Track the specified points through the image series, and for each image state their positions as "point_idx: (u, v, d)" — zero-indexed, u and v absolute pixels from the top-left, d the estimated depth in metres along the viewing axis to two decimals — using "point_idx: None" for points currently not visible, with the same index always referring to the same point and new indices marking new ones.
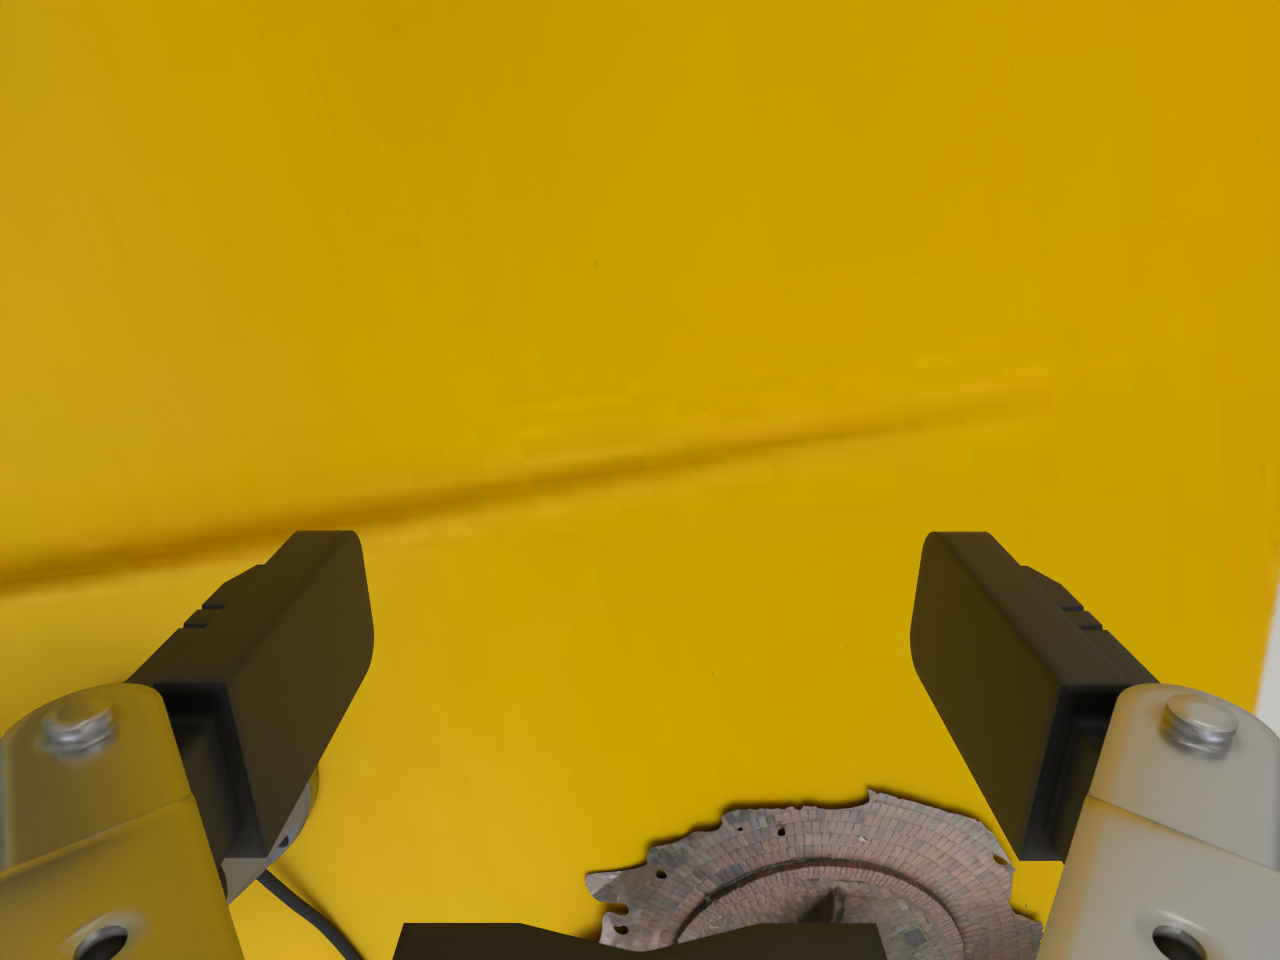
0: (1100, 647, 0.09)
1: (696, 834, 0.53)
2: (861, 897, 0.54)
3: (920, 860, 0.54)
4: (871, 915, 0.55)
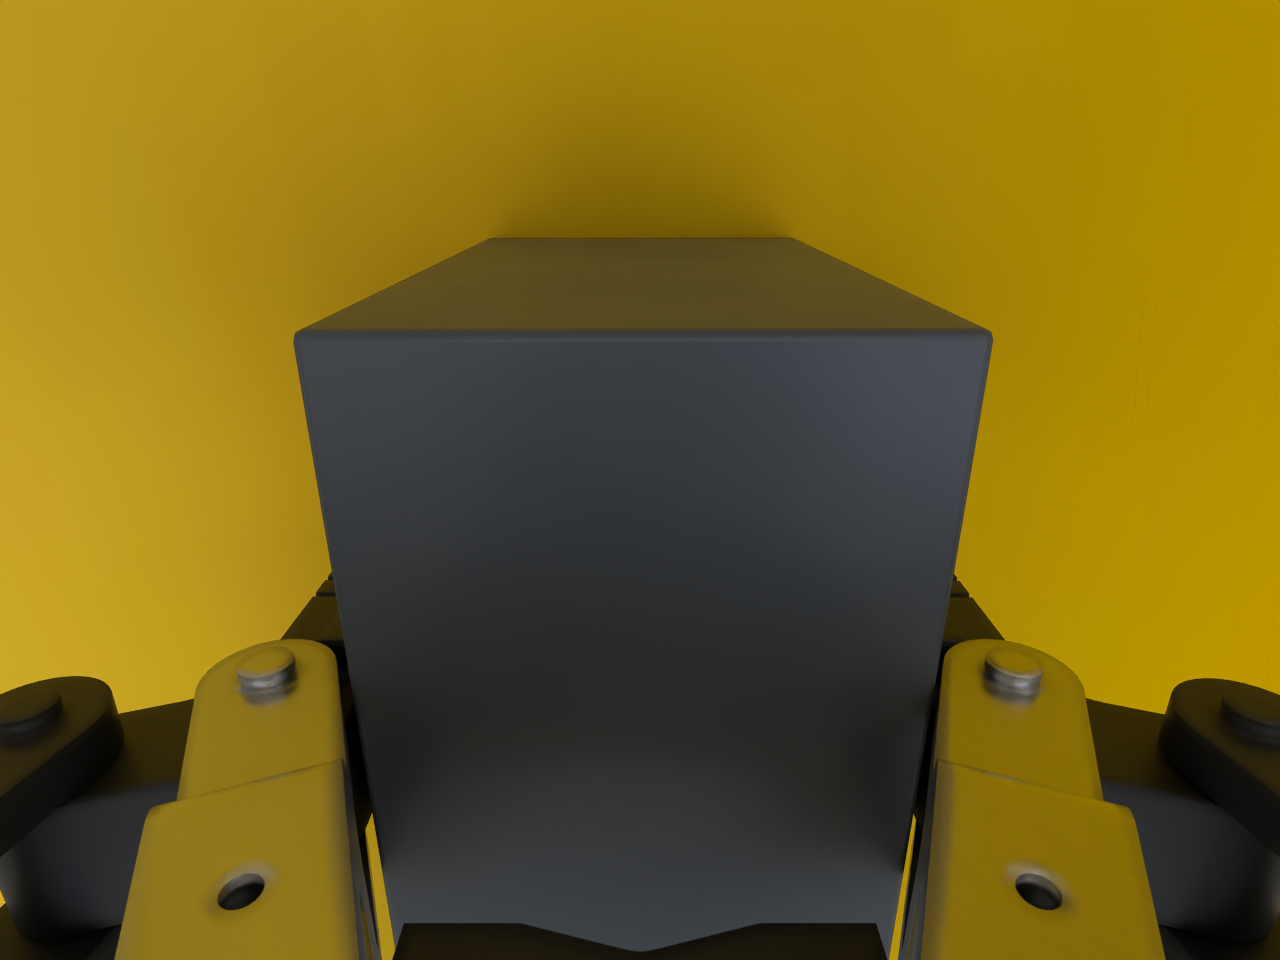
0: (961, 612, 0.09)
1: None
2: None
3: None
4: None
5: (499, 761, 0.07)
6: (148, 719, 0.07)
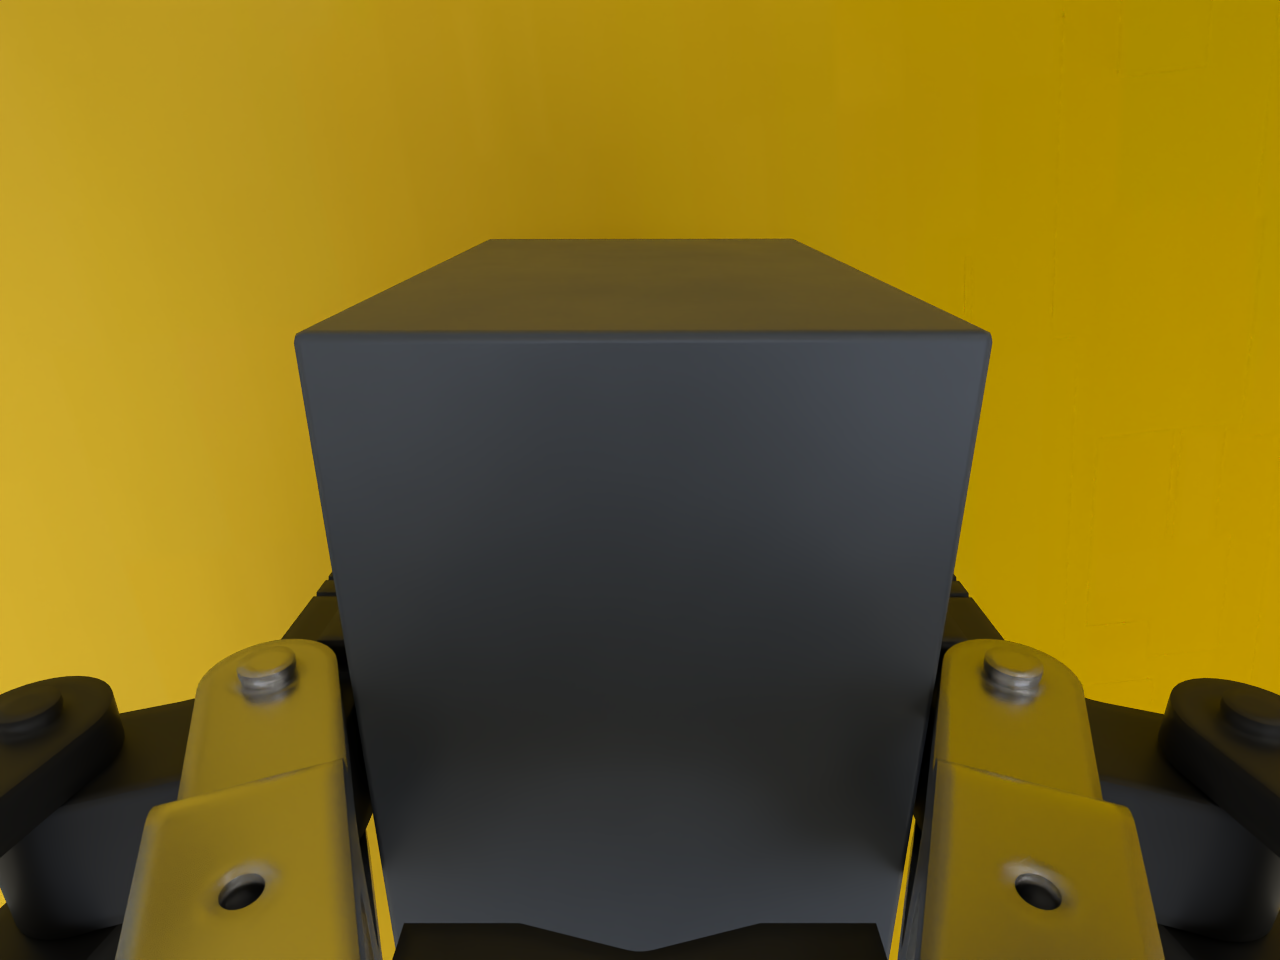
0: (961, 612, 0.09)
1: None
2: None
3: None
4: None
5: (500, 761, 0.07)
6: (150, 719, 0.07)
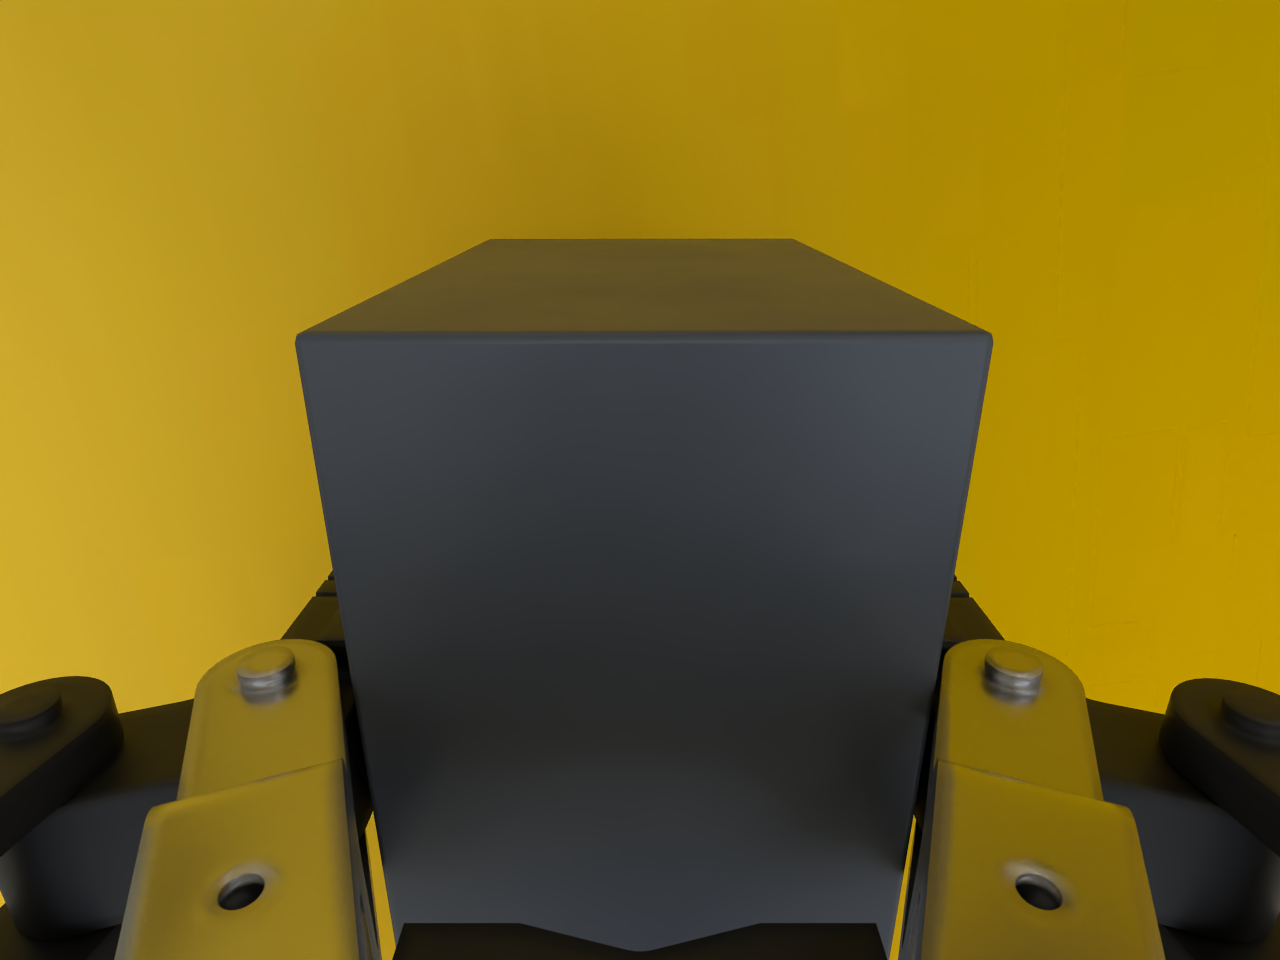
0: (961, 612, 0.09)
1: None
2: None
3: None
4: None
5: (501, 761, 0.07)
6: (148, 719, 0.07)
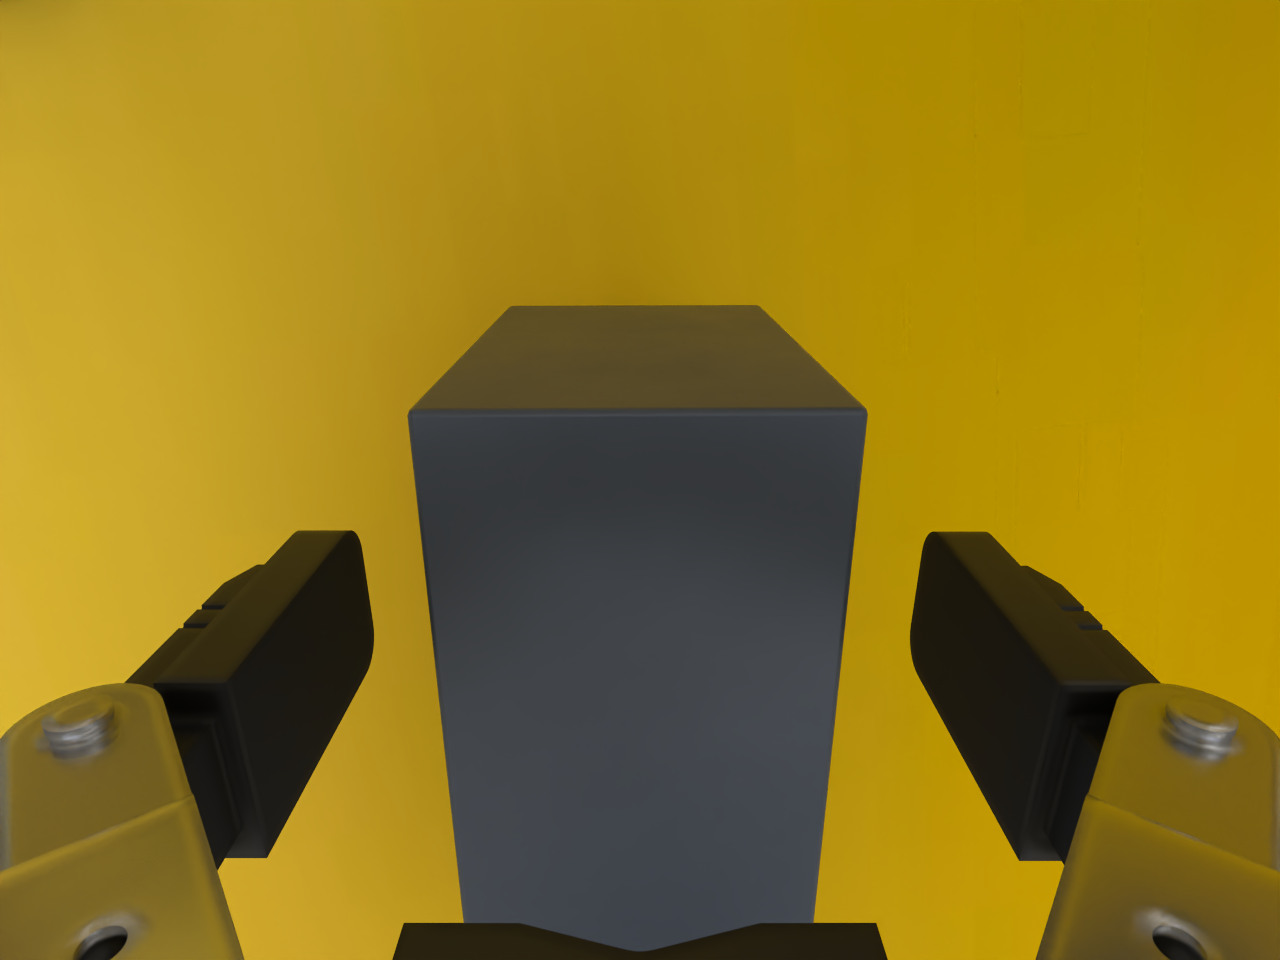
0: (1100, 647, 0.09)
1: None
2: None
3: None
4: None
5: (537, 705, 0.11)
6: None
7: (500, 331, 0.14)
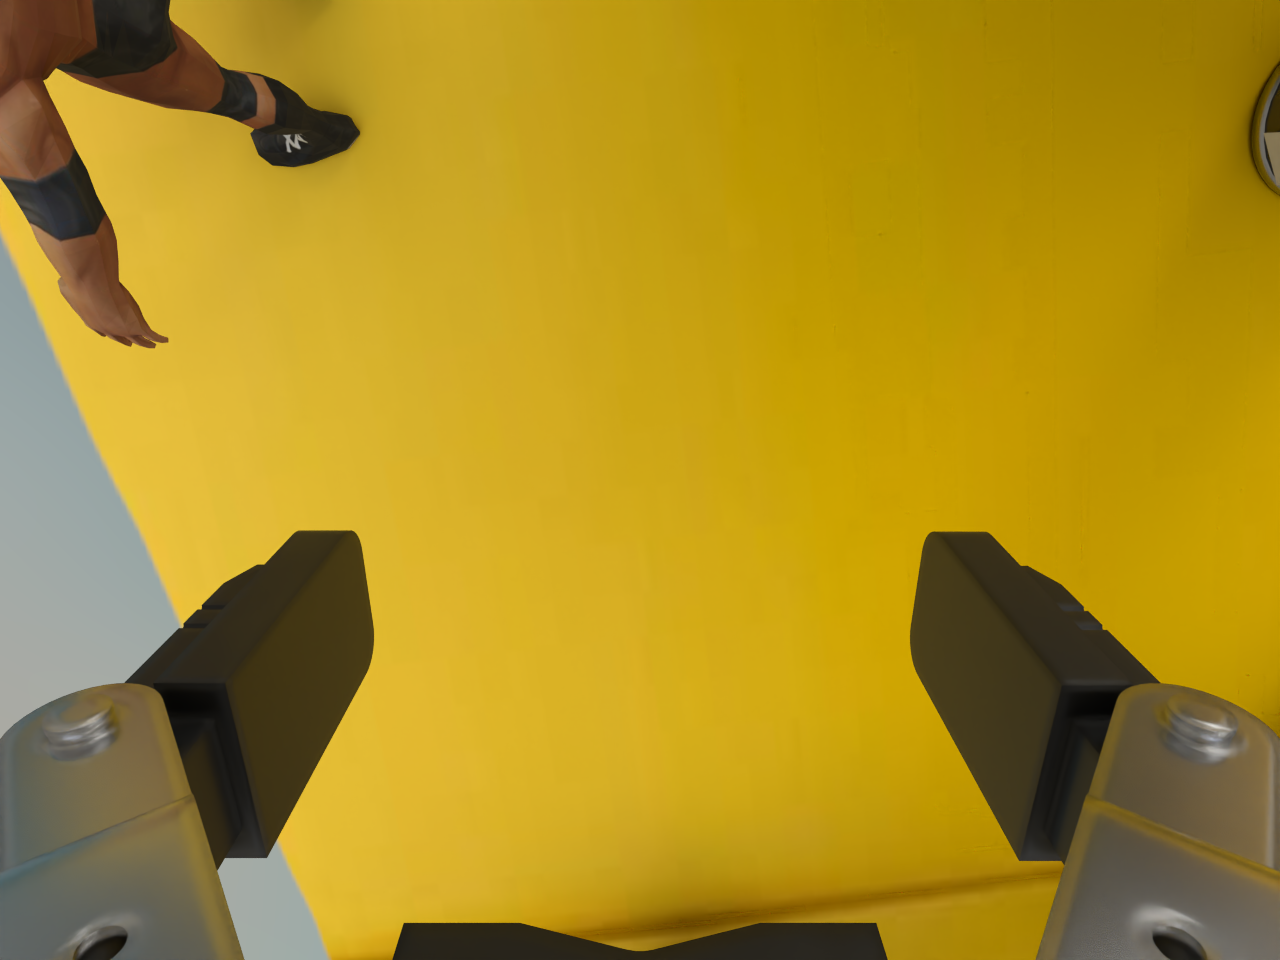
0: (1100, 647, 0.09)
1: None
2: None
3: None
4: None
5: None
6: None
7: None
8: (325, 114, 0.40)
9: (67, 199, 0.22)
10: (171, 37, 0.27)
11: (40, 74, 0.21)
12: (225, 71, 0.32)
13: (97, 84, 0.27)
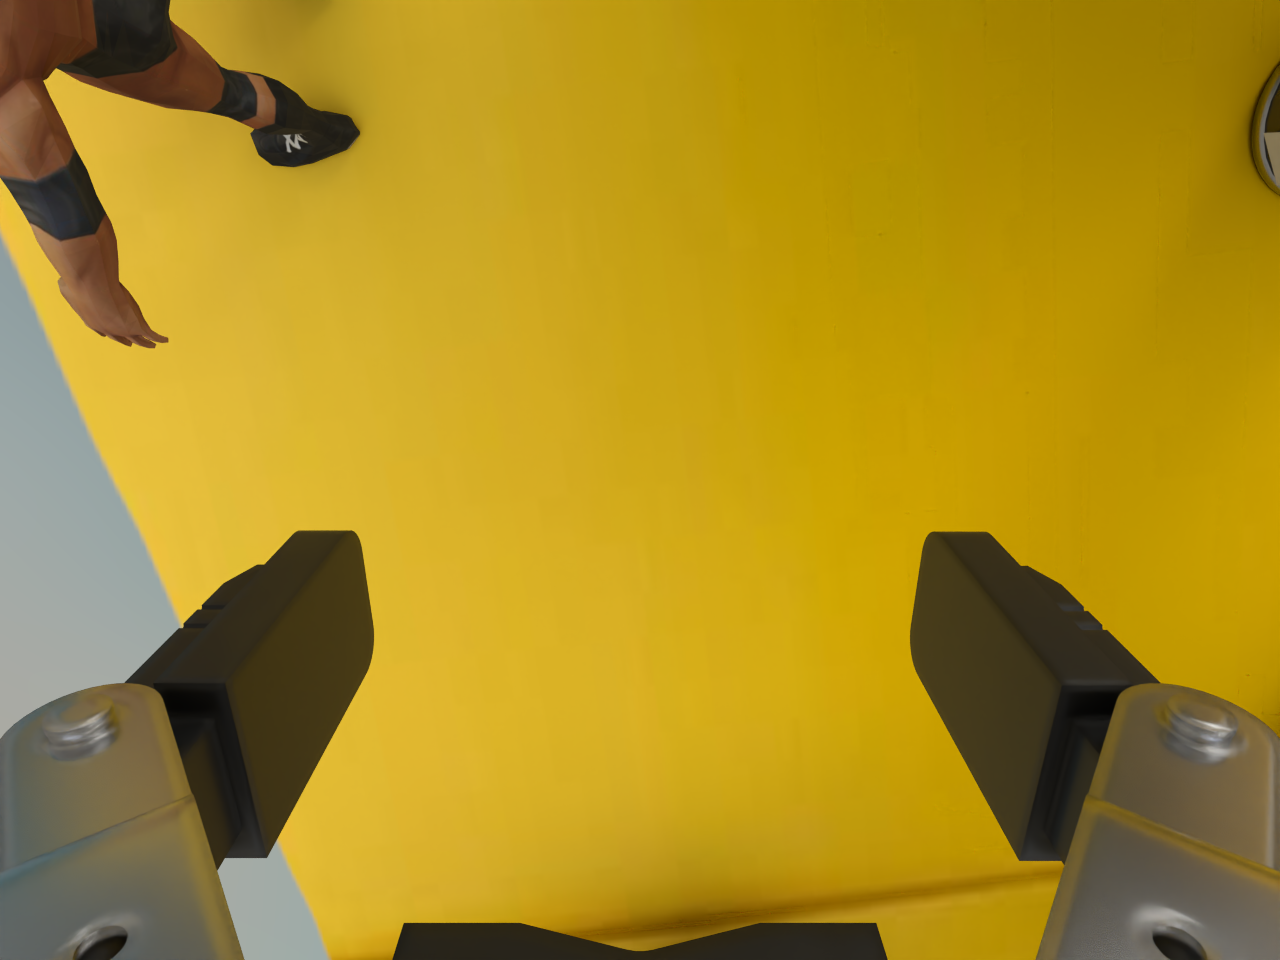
0: (1100, 647, 0.09)
1: None
2: None
3: None
4: None
5: None
6: None
7: None
8: (325, 114, 0.40)
9: (67, 199, 0.22)
10: (171, 37, 0.27)
11: (40, 74, 0.21)
12: (225, 71, 0.32)
13: (97, 84, 0.27)
